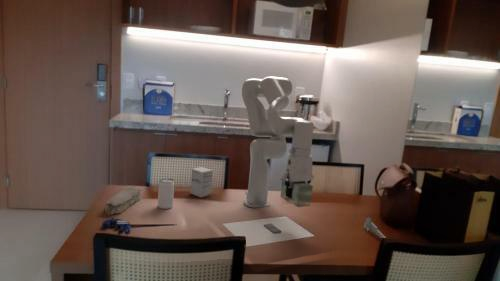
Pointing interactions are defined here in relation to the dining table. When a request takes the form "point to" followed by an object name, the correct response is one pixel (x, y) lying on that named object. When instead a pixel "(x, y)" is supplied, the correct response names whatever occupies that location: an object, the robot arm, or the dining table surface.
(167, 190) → the can
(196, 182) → the supplement box
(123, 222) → the bar clamp
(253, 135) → the robot arm
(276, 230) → the mark chip
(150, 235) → the dining table surface
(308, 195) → the block
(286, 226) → the board
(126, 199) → the shoe brush
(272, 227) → the mark chip
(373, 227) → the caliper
